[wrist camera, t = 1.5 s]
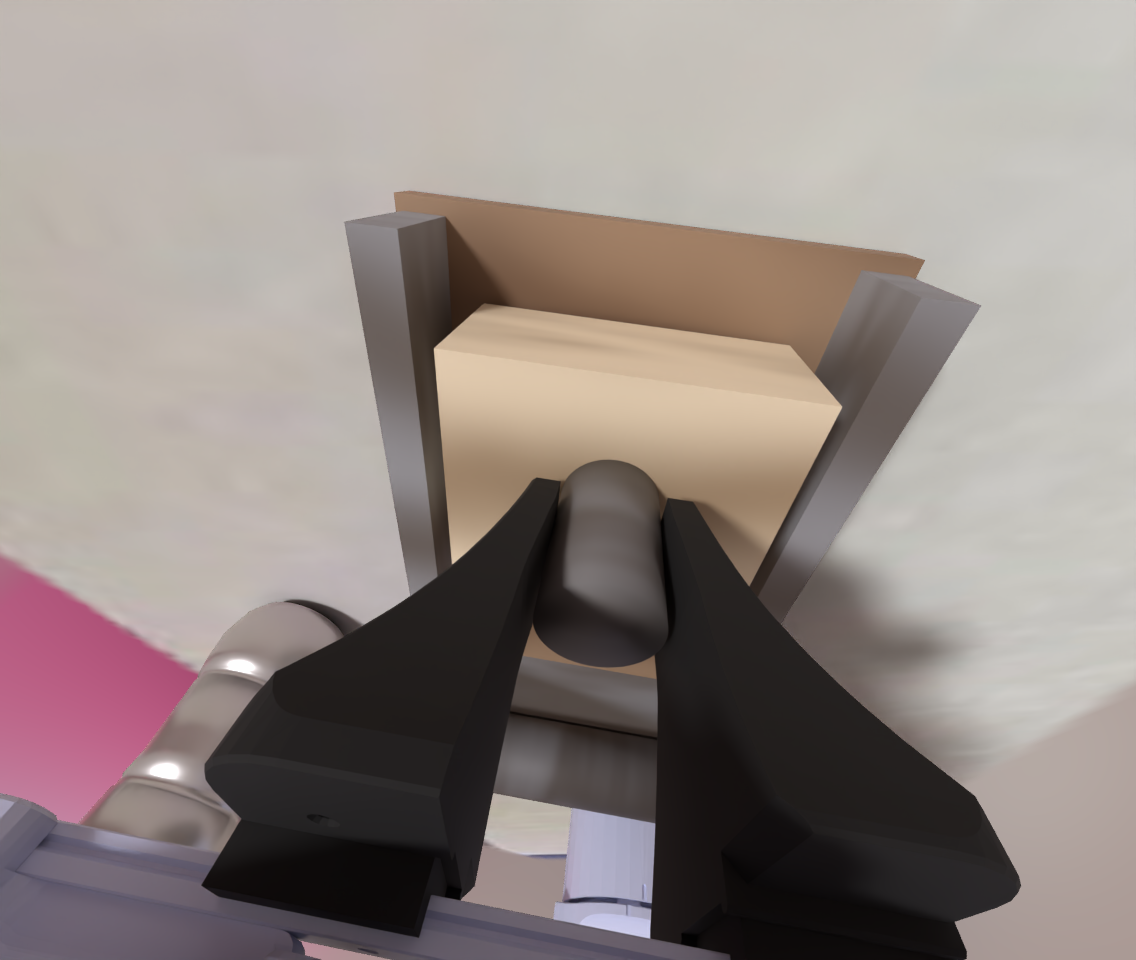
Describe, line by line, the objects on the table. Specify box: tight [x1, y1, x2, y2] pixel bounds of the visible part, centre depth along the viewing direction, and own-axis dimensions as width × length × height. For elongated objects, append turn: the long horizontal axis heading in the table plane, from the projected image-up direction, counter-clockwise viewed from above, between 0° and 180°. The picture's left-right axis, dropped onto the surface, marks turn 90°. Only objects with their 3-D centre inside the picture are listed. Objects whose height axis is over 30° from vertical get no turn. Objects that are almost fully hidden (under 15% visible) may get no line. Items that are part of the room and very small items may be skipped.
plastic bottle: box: [78, 602, 344, 853], centre depth 19 cm, size 6×7×20 cm
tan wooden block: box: [434, 303, 842, 668], centre depth 12 cm, size 7×9×8 cm
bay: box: [344, 191, 981, 823], centre depth 16 cm, size 23×14×7 cm, turn 174°
